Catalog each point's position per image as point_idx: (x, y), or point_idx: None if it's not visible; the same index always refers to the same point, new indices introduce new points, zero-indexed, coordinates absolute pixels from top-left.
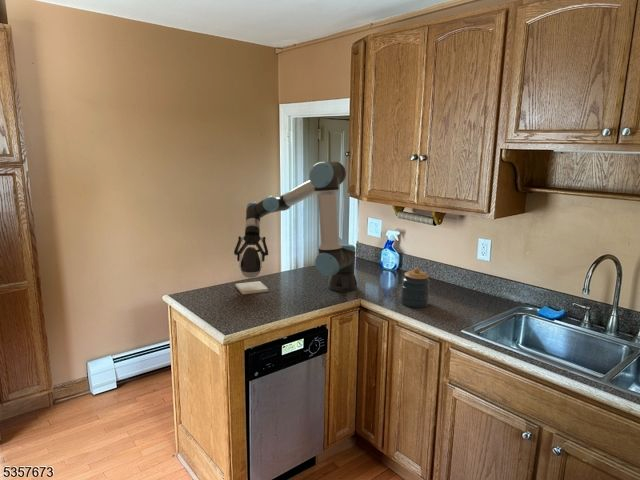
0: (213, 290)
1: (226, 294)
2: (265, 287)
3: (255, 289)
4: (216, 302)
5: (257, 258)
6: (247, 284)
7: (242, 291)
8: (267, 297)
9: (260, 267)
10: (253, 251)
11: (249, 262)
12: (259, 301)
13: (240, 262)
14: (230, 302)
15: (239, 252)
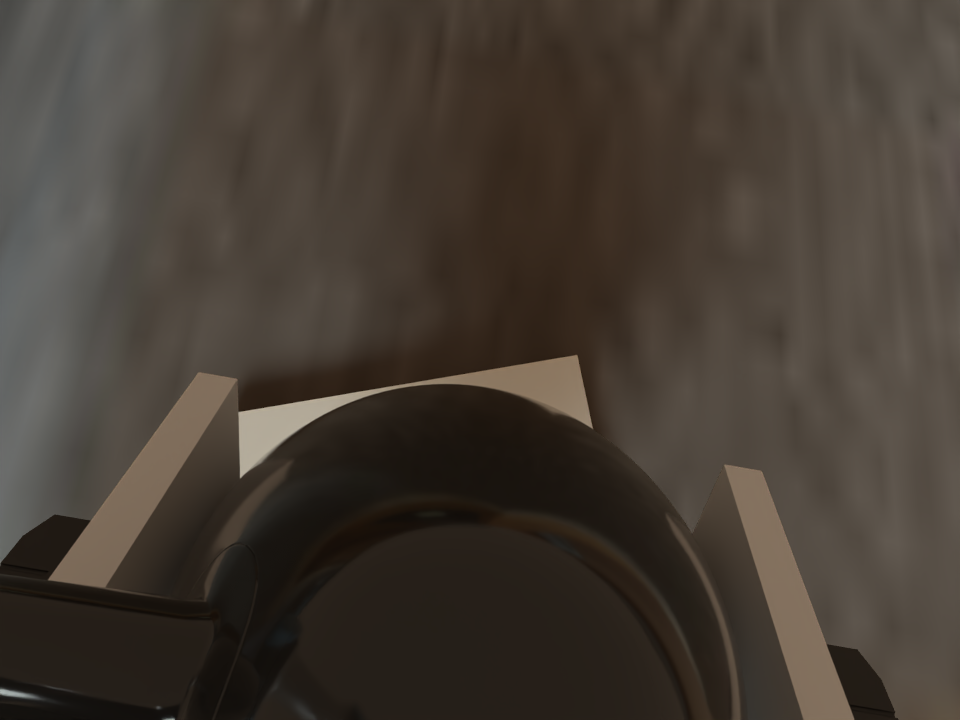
0: (928, 585)
1: (760, 399)
2: (242, 474)
3: None
4: (858, 156)
5: (252, 475)
6: None
7: (576, 356)
8: (282, 208)
9: (236, 458)
10: (360, 496)
11: (516, 395)
12: (397, 100)
13: (748, 524)
14: (712, 129)
15: None
